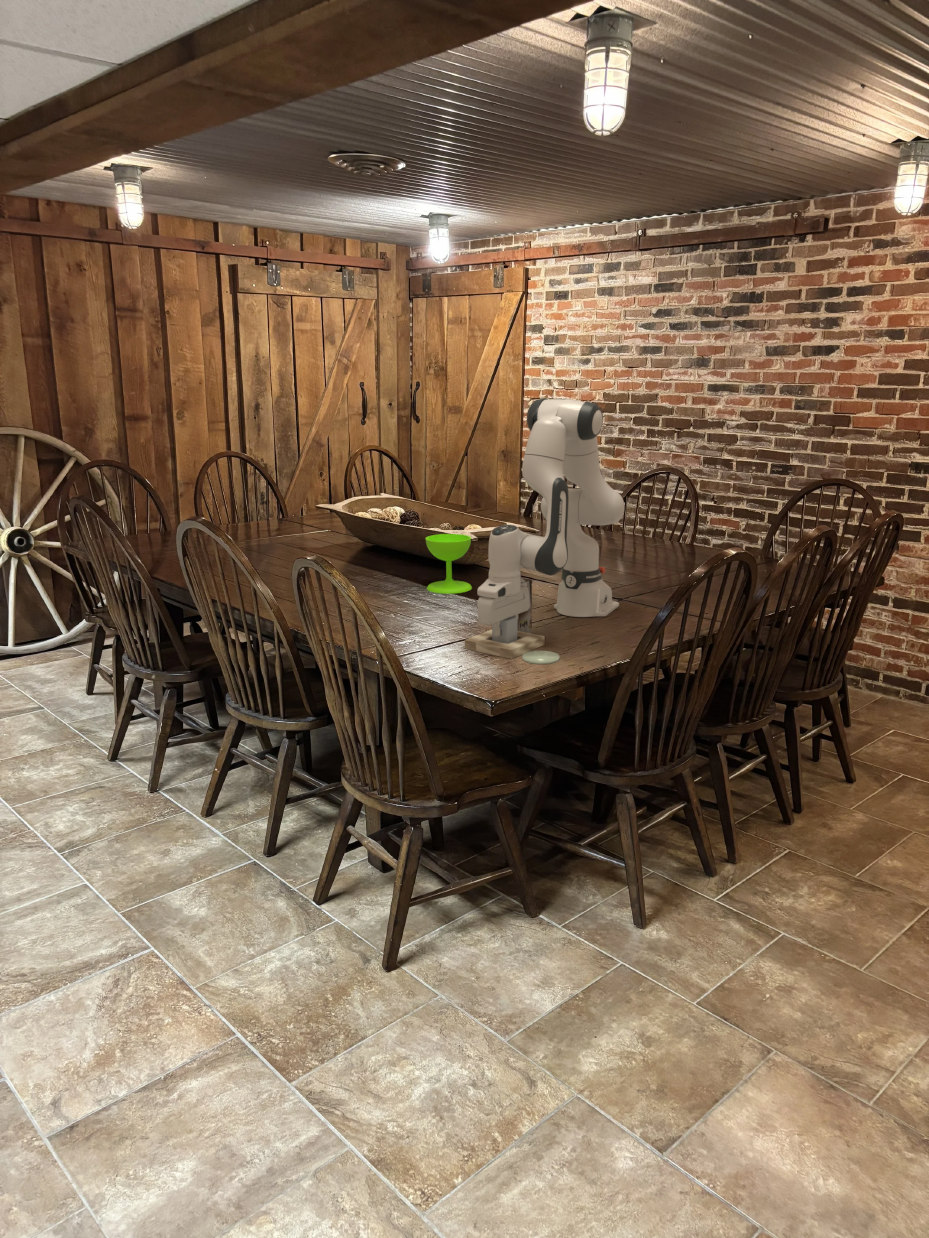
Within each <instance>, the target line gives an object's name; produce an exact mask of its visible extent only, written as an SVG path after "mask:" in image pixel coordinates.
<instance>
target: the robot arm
mask: <svg viewBox="0 0 929 1238" xmlns="http://www.w3.org/2000/svg"><path fill="white" fill-rule="evenodd" d="M603 416H604V415H603V410H602V409H601V408H600V406H599V405H598V404H597V403H594V402H591V401H582V400H577V399H571V398H560V399H559V398H554V399H553V398H551V399H548V398H539V399H535V400H534V401H533V402H532V403H531V404H530V405H529V407H528V409H527V412H526V424H527V428H528V430H529V436H528V439H527V442H526V446H525V449H524V456H523V460H522V467H521V471H522V472H521V473H522V477H523V480H524V481H525V482H526V484H527V485H528V487H530V488H531V489H532V490H534V492H537V493H538V494H539V495H541V497H542V499H541V501H540V511H541V513H542V516H543V518H544V519H545V520H546V531H545V532H546V533H545V536H543V535H542V536H540V535H536V534H530V533H528V532H525V531H522V530H521V529H519V528H518V526H517V525H514V524H503V525H499V526H496V527H494V528H493V529H492V530H491V532H490V535H489V540H488V553H487V554H488V555H487V557H488V562H489V571H488V578H487V579H486V580H485V581H484V582H483V583H482V584H481V585H480V586H478V588H477V591H476V592H477V596H479V597H478V601H477V620H478V623H480V624H481V625H485V626H491V628H492V627H493V629H494V636H497V637H499V636H501V635H502V629H500V627H499V625H500V621H502V620H504V619H507V618H510V617H512V616H513V617H517V619H518V614H520V613H523V612H525V611H528V609H529V607H530V599H529V591H528V588H527V583H526V581H525V580H524V579H521V578H522V576H521V574H522V573H521V569H525V570H530V571H535V572H538V573H540V574H544V575H546V576H555V575H556V574H558V573H559V572H560V573H561V574H560V575H561V580H562V581H561V582H560V583H558V590H557V598H556V599H557V600H556V603H555V604H553V608H554V609H555V610H556V612H557V613H558V614H560V615H563V616H568V617H575V618H588V617H589V618H590V617H591V618H592V617H607V616H609V615H610V614H611V613H612V612H614V610H616V609H617V608H619V607H620V602H618V601H616V600H613V590H612V588H611V587H610V586H609V585H608V584H607V583H606V582H605V581H604V580H603V579H602V574H603V575H604V574H605V573H606V567H604V566H602V567H601V566H599V564H600V562H599V561H600V560H599V559H600V547H599V543H598V541H596V539H595V538H593V537H592V536H590V535H588V534H586V533H585V532H584V530H583V529H582V527H581V525H586V526H607V525H613V524H617V523H618V522H620V520H621V519H622V517H623V515H624V513H625V502H624V499H623V497H622V495H621V494H620V493H619V492H618V491H616V490H615V489H614V488H612V487H611V486H610V485H609V483H607V482H606V479H604V476H603V474H602V471H601V467H600V466H601V465H600V458H599V446H598V445H599V443H598V435H599V434H600V432H601V431H602V428H603V422H604V417H603ZM565 479H566V480H567V481H569V482H570V483H572V484H574V485H576V486H577V487H578V488H572V487H571V488H569V486H568V483H567V481H566V480H565Z"/></svg>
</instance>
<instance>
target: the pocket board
mask: <svg viewBox="0 0 929 1238" xmlns="http://www.w3.org/2000/svg"><path fill="white" fill-rule="evenodd" d="M544 645H545V635H542V634H541V635H540V634H536V633H526V632H521V631H517V640H516V641H514V642H512V643H509V644H506V643H501V642H497V641H492V629H489V630H487V631H484V632H481V633H479V634H476V635H473V636H471V637H469V638H467V639H464V649H466V650H470V651H474V652H479V653H482V654H487V655H492V656H495V657H496V656H497V657H501V658H505V659H506V658H507V659H511V660H512V659H515V658H517V657H520V656H522V655H523V654H524V653H526V652H530V651H534V650H535V649H537V648H539V647H542V646H544Z"/></svg>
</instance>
